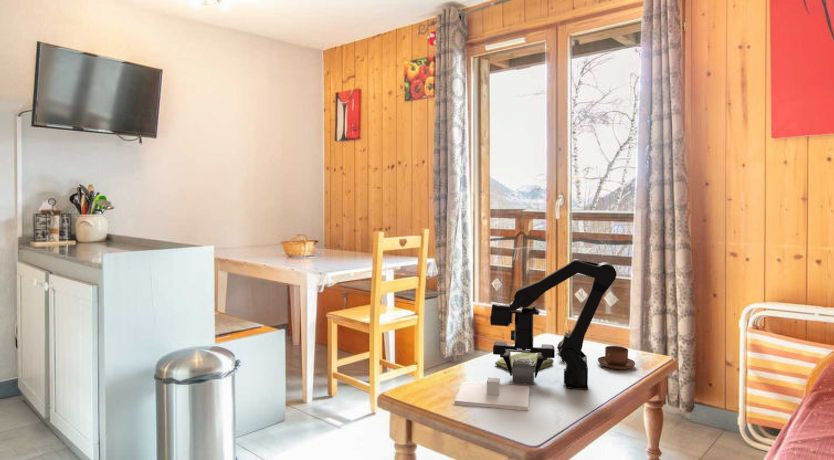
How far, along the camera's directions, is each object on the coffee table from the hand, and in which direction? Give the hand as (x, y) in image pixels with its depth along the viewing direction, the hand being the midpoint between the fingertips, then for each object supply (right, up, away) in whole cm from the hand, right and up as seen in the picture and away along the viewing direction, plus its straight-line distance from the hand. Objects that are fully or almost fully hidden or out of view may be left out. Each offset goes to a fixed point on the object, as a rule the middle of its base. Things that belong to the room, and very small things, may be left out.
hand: (523, 376), depth 169 cm
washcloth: (+4, -1, +16) cm, 16 cm away
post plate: (-11, -2, -14) cm, 18 cm away
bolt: (+21, 0, +27) cm, 34 cm away
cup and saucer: (+35, -1, +15) cm, 38 cm away
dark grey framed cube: (0, -1, 0) cm, 1 cm away
